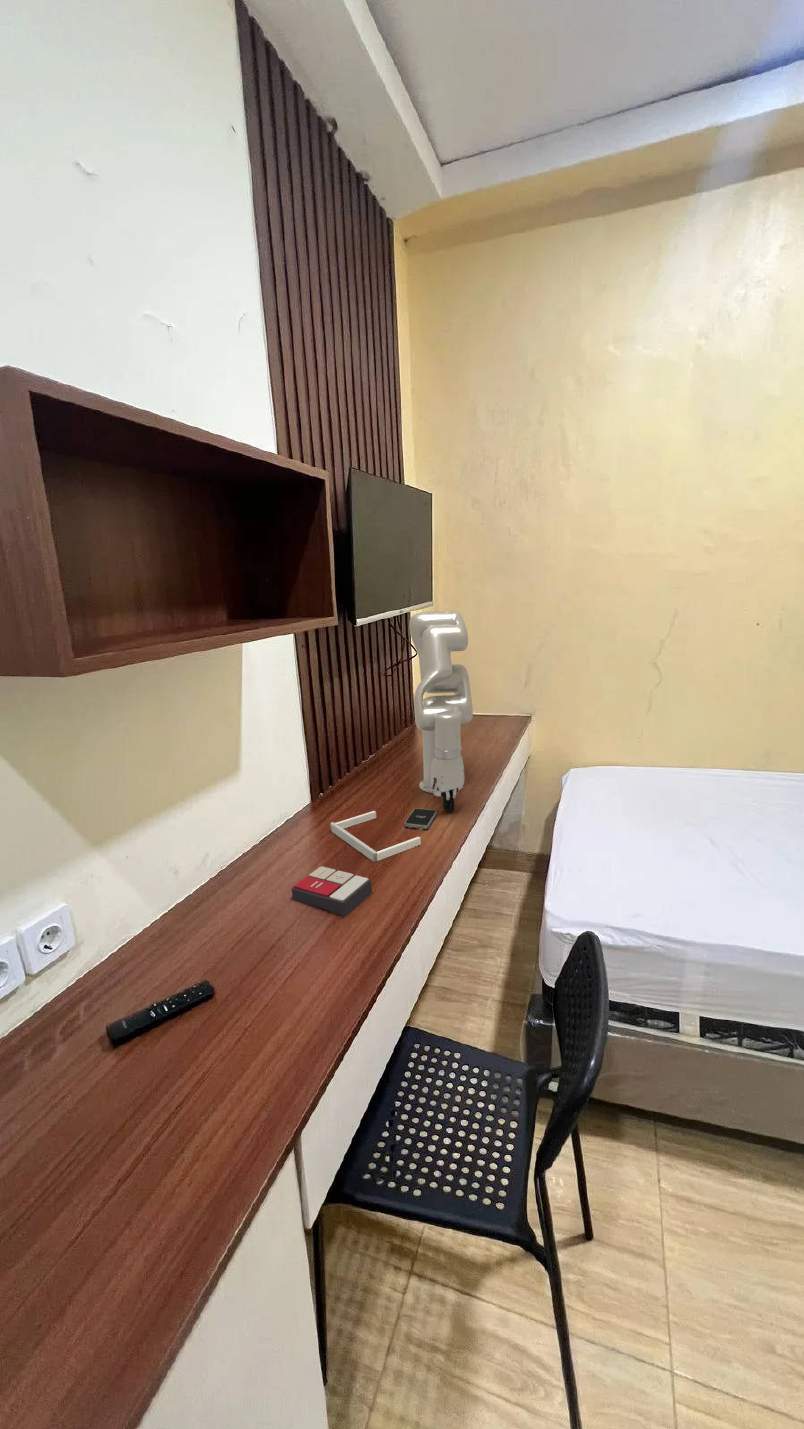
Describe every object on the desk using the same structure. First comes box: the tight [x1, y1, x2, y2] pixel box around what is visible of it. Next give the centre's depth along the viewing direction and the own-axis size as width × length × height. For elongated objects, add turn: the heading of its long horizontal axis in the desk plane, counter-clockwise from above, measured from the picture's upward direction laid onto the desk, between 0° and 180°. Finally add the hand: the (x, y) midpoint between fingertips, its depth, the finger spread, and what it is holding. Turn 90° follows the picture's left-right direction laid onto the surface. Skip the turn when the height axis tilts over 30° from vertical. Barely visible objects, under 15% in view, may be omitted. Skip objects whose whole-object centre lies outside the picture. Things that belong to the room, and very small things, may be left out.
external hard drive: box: [404, 808, 437, 831], centre depth 166 cm, size 7×11×2 cm, turn 162°
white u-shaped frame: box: [329, 810, 422, 863], centre depth 157 cm, size 15×23×2 cm, turn 36°
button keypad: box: [291, 866, 373, 917], centre depth 130 cm, size 11×4×15 cm
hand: (448, 809), depth 172 cm, fingers closed
